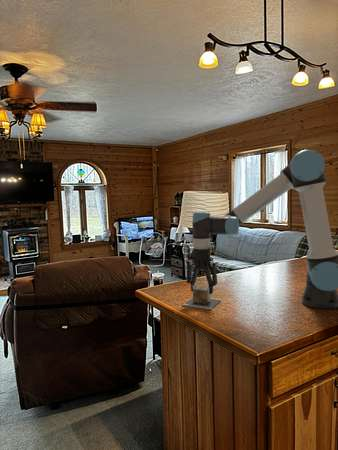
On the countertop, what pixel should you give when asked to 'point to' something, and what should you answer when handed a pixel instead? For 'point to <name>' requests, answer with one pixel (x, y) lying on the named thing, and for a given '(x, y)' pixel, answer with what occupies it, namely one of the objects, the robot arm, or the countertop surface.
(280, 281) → the countertop surface
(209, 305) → the tray
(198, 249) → the robot arm
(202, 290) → the walnut block
